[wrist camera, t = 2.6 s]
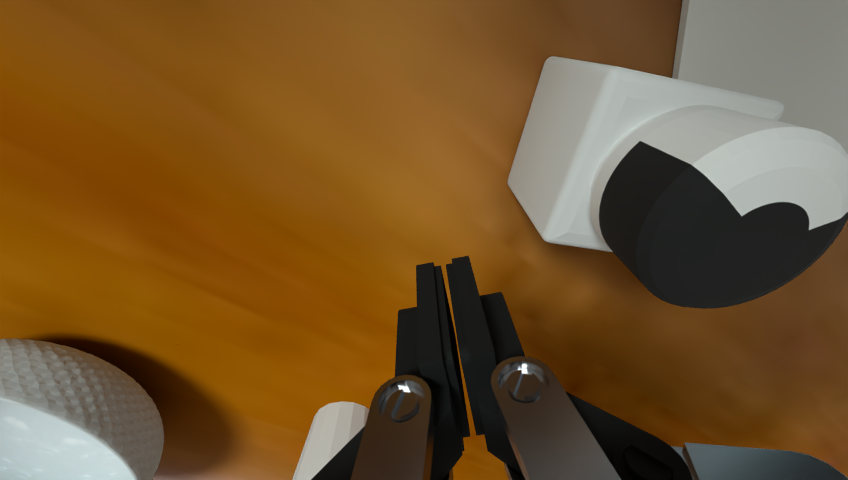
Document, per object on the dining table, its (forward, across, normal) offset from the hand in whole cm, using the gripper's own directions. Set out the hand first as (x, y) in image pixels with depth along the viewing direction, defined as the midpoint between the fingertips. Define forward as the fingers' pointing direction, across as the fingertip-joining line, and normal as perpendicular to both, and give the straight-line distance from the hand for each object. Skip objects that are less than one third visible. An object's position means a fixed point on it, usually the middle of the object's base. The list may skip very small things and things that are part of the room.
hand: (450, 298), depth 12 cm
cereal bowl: (+12, +31, +11) cm, 35 cm away
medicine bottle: (+12, -9, -1) cm, 15 cm away
